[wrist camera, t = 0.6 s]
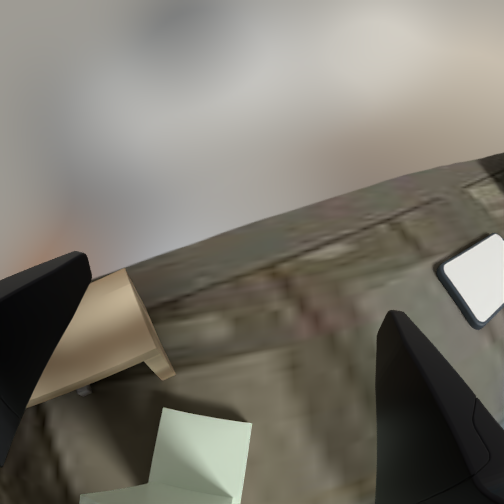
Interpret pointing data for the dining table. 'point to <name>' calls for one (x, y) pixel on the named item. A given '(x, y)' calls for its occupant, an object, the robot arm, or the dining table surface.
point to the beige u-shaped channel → (102, 341)
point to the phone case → (476, 280)
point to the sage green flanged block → (189, 463)
